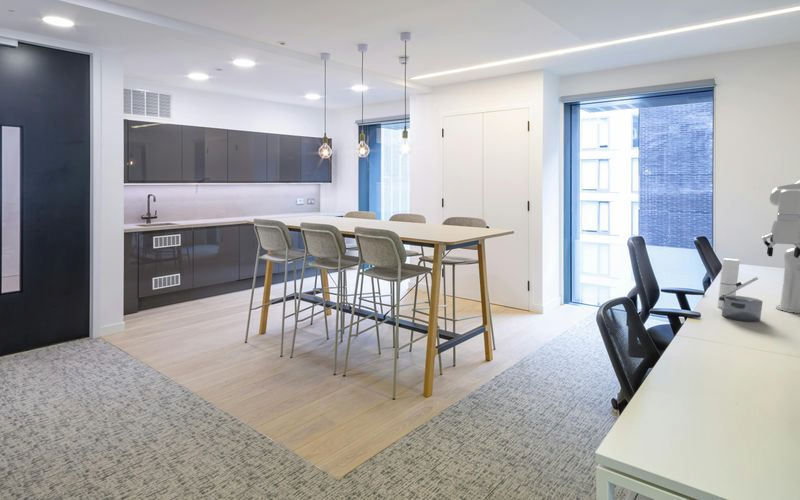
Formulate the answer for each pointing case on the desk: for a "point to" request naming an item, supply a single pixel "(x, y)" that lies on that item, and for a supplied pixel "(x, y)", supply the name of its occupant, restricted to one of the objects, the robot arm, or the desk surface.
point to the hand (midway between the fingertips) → (782, 256)
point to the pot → (741, 308)
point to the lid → (740, 286)
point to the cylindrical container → (728, 278)
